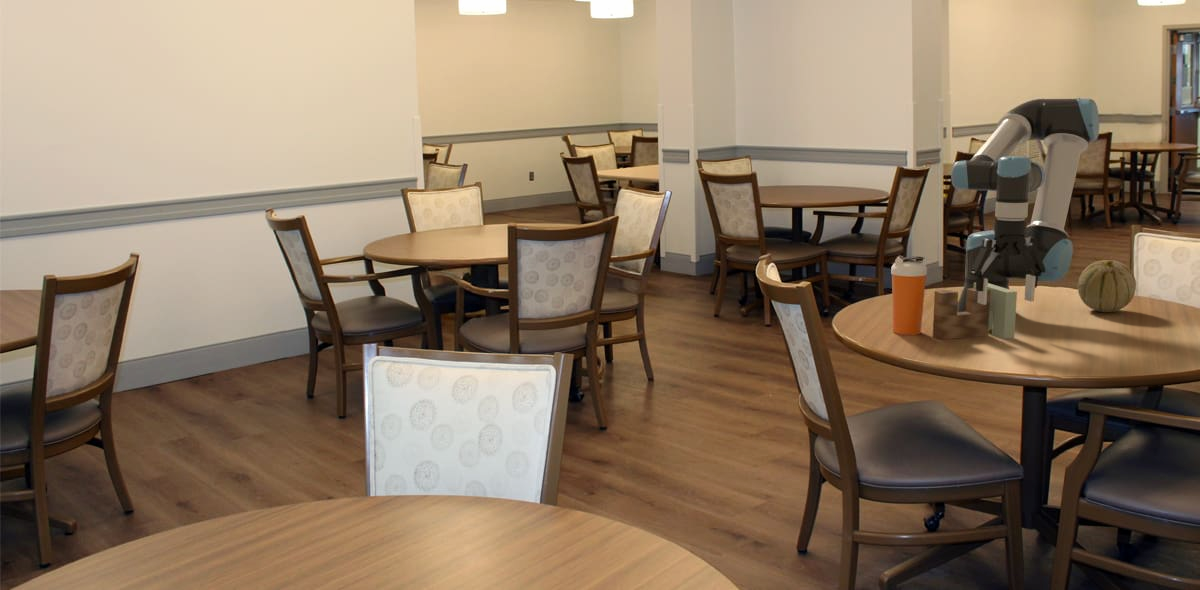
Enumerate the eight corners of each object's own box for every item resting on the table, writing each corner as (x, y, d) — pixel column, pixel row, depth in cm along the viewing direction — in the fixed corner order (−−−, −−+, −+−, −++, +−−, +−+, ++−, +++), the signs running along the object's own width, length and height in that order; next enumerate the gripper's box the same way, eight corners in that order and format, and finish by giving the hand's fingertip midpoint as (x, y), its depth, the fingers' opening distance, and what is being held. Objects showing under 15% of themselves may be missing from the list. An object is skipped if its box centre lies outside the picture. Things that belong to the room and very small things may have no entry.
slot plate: (971, 326, 269) (973, 282, 267) (981, 325, 270) (983, 281, 267) (1003, 338, 256) (1006, 292, 253) (1014, 337, 256) (1016, 291, 254)
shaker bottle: (926, 336, 260) (929, 259, 256) (890, 335, 262) (893, 259, 258) (922, 328, 269) (925, 254, 265) (887, 327, 271) (890, 254, 267)
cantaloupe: (1116, 305, 290) (1120, 253, 287) (1145, 316, 276) (1149, 262, 273) (1065, 306, 290) (1069, 255, 287) (1091, 318, 275) (1095, 264, 272)
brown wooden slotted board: (981, 332, 263) (983, 287, 260) (987, 335, 260) (990, 289, 257) (932, 336, 259) (934, 291, 257) (939, 339, 257) (941, 293, 254)
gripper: (1044, 215, 258) (1039, 296, 262) (957, 219, 253) (953, 302, 257) (1064, 218, 251) (1058, 302, 255) (975, 222, 246) (970, 307, 249)
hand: (1005, 302), depth 256 cm, fingers open, 13 cm apart
